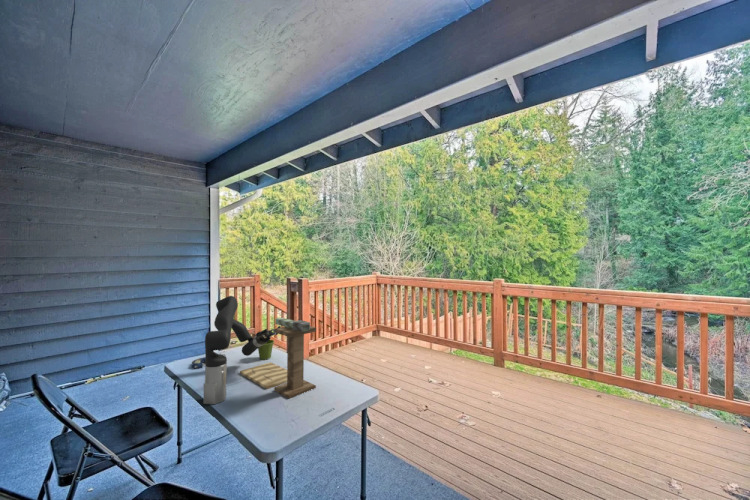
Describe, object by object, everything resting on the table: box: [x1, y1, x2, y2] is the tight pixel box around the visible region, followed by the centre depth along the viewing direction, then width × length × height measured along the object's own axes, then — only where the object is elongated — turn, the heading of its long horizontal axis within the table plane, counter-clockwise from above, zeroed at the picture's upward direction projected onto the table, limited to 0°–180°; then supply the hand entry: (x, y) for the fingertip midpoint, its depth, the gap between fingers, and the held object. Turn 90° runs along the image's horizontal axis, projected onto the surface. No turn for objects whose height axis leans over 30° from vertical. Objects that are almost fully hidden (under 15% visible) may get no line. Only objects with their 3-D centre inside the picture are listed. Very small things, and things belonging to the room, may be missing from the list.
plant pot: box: [257, 339, 275, 361], centre depth 206 cm, size 12×12×11 cm
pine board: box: [239, 361, 287, 390], centre depth 175 cm, size 32×20×2 cm, turn 48°
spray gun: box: [191, 353, 226, 369], centre depth 195 cm, size 21×4×15 cm
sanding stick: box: [275, 317, 311, 332], centre depth 161 cm, size 26×5×4 cm, turn 48°
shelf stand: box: [273, 325, 317, 400], centre depth 158 cm, size 14×16×32 cm
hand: (273, 328), depth 173 cm, fingers open, 8 cm apart
